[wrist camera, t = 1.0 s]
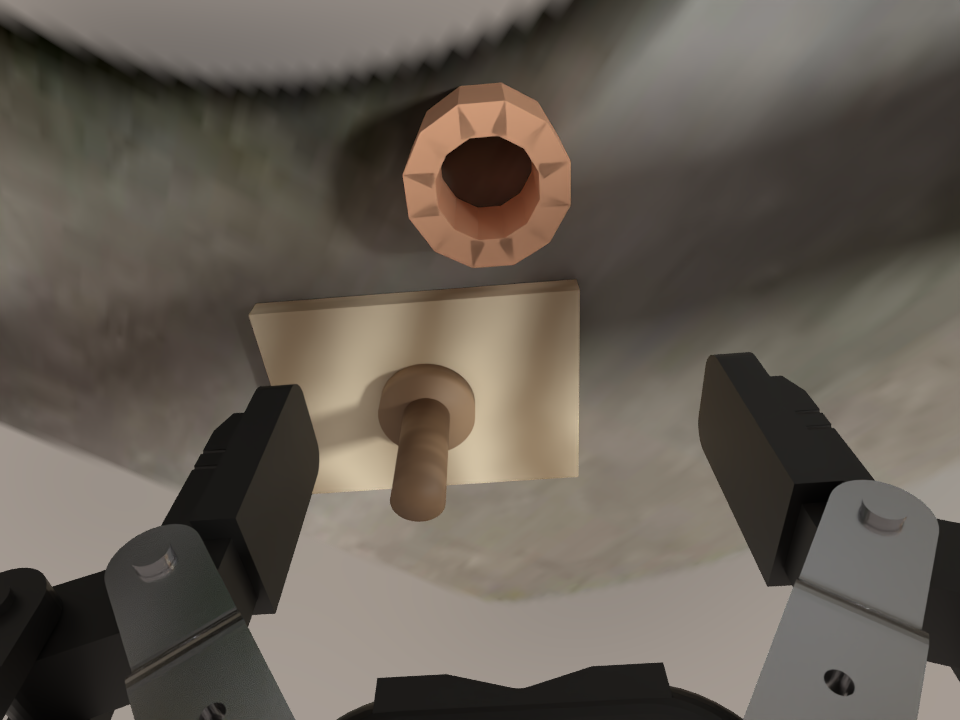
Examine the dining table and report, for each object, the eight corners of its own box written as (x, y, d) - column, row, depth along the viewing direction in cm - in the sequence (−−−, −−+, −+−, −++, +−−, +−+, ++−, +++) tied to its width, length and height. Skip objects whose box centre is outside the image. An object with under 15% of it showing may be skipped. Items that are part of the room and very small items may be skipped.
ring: (557, 77, 26) (570, 94, 22) (559, 226, 29) (570, 260, 26) (403, 91, 26) (392, 110, 22) (423, 236, 29) (416, 272, 26)
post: (470, 360, 32) (470, 454, 25) (478, 436, 34) (480, 538, 28) (373, 367, 32) (349, 462, 26) (388, 442, 34) (370, 544, 28)
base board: (576, 279, 30) (579, 290, 29) (575, 462, 37) (578, 476, 36) (255, 303, 31) (248, 314, 30) (310, 479, 37) (305, 494, 36)
